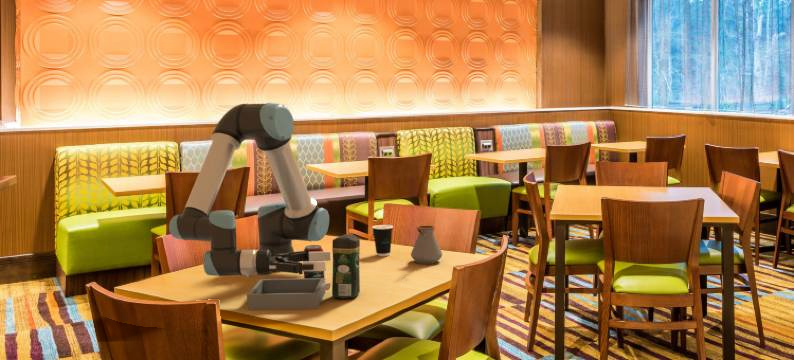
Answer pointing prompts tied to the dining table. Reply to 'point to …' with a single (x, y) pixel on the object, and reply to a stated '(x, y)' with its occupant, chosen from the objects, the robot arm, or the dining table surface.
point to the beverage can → (310, 273)
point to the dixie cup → (382, 239)
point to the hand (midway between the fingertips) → (328, 260)
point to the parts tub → (287, 294)
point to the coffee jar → (346, 266)
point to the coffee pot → (426, 246)
